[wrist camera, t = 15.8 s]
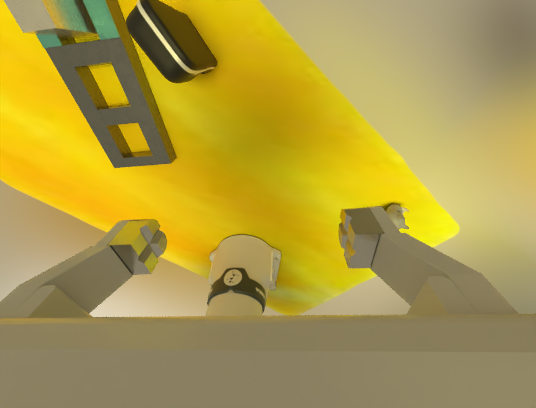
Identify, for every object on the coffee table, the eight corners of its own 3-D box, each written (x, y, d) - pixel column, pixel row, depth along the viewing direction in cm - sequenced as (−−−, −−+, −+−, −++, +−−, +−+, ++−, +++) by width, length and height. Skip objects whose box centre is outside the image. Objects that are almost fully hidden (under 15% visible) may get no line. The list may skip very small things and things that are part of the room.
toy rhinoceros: (392, 211, 47) (428, 228, 40) (352, 244, 48) (379, 268, 40) (382, 189, 44) (419, 204, 36) (338, 225, 44) (366, 247, 37)
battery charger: (165, 31, 28) (110, 19, 19) (185, 11, 27) (135, -14, 18) (201, 81, 31) (168, 91, 22) (220, 65, 30) (194, 68, 21)
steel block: (107, 34, 29) (56, 28, 22) (80, 38, 29) (23, 32, 22) (89, -6, 26) (27, -27, 20) (61, -1, 27) (-9, -20, 20)
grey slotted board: (176, 157, 39) (170, 163, 37) (122, 162, 40) (114, 168, 38) (101, -40, 25) (85, -49, 22) (20, -25, 26) (-3, -32, 23)
